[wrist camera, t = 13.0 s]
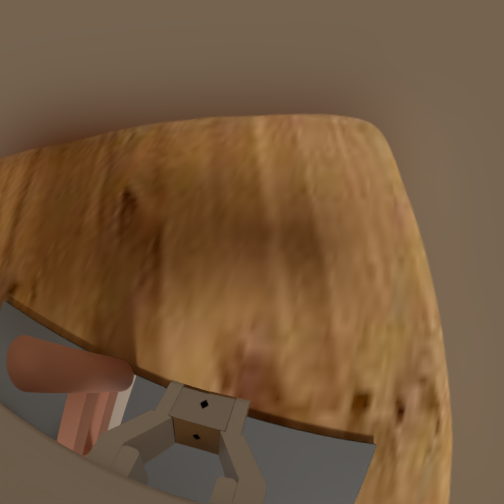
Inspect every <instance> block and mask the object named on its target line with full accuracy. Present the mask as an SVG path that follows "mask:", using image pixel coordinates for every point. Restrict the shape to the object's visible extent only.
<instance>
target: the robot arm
mask: <svg viewBox="0 0 504 504" xmlns="http://www.w3.org/2000/svg"><path fill="white" fill-rule="evenodd" d="M249 406H250V401H249V400H245V399H240V398H237V397H232V396H228V395H224V394H219V393H215V392H209V391H206V390H202V389H199V388H196V387H192V386H189V385H186V384H183V383H179V382H176V381H172V382H171V383H170V384H169V385H168V387H167V389H166V391H165V393H164V395H163V396H162V398H161V400H160V402H159V404H158V405H157V407H156V409H155V411H153V410H149V411H147V412H145V413H143V414H141V415H139V416H137V417H135V418H133V419H131V420H129V421H127V422H125V423H123V424H121V425H119V426H116V427H114V428H112V429H110V430H108V431H105V432H103V433H102V434H101V435H100V437H99V438H98V440H97V441H96V443H95V445H94V446H93V448H92V449H91V451H90V452H89V454H88V455H87V457H84V456H82V455H80V454H79V453H77V452H75V451H73V450H71V449H69V448H68V447H66V446H64V445H62V444H61V443H59V442H57V441H56V440H54V439H52V438H51V437H49V436H47V435H46V434H44V433H43V432H41V431H40V430H38V429H37V428H35V427H33V426H32V425H31V424H29V423H28V422H26V421H25V420H23V419H22V418H20V417H19V416H18V415H16V414H15V413H13V412H12V411H11V410H9V409H8V408H7V407H5V406H4V405H3V404H1V403H0V504H204V503H200V502H197V501H193V500H190V499H187V498H183V497H180V496H177V495H174V494H171V493H168V492H165V491H162V490H159V489H157V488H154V487H151V486H149V485H147V483H148V481H149V479H148V476H147V473H146V471H145V468H144V464H146V463H147V462H149V461H150V460H152V459H153V458H155V457H157V456H158V455H160V454H161V453H163V452H164V451H166V450H167V449H168V448H170V447H171V446H173V445H174V444H175V443H179V444H182V445H186V446H189V447H193V448H197V449H200V450H203V451H207V452H210V453H213V454H217V455H218V456H219V459H220V462H221V466H222V469H223V472H224V475H225V477H222V476H221V477H219V478H217V480H216V483H215V486H214V489H213V492H212V495H211V497H210V500H209V503H208V504H263V500H264V496H265V491H266V486H267V485H266V482H265V480H264V478H263V476H262V474H261V472H260V470H259V468H258V465H257V463H256V461H255V459H254V457H253V454H252V452H251V450H250V448H249V445H248V443H247V441H246V439H245V436H243V433H244V429H245V425H246V420H247V416H248V411H249Z"/></svg>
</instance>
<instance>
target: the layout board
mask: <svg viewBox="0 0 504 504" xmlns="http://www.w3.org/2000/svg"><path fill="white" fill-rule="evenodd" d="M21 335H28V336H31V337H35V338H38V339H41V340H45V341H49V342H52V343H56V344H60V345H63V346H67V347H71V348H75V349H79V350H84V351H87V350H86V349H84V348H82V347H80V346H78V345H76V344H75V343H73V342H71V341H69V340H67V339H66V338H64V337H62V336H60V335H59V334H57V333H55V332H54V331H52V330H50V329H49V328H47V327H45V326H44V325H42V324H40V323H39V322H37V321H36V320H34V319H32V318H31V317H29V316H28V315H26V314H25V313H23V312H22V311H20V310H19V309H17V308H16V307H14V306H13V305H11V304H10V303H8V302H7V301H3V304H2V307H1V310H0V403H1V404H3V405H4V406H5V407H7V408H8V409H9V410H11V411H12V412H13V413H15V414H16V415H18V416H19V417H20V418H22V419H23V420H25V421H26V422H28V423H29V424H31V425H32V426H33V427H35V428H37V429H38V430H40V431H41V432H43V433H44V434H46V435H47V436H49V437H51V438H52V439H54V440H56V441H57V438H58V433H59V428H60V424H61V420H62V415H63V411H64V407H65V403H66V399H67V396H68V393H33V392H23V391H21V390H19V389H18V388H17V387H16V386H15V385H14V384H13V383H12V381H11V379H10V377H9V375H8V371H7V366H6V357H7V351H8V348H9V346H10V344H11V343H12V341H13V340H14V339H15V338H17V337H18V336H21ZM88 352H89V351H88ZM133 375H134V378H133V382H132V385H131V386H130V387H129V388H128V389H127V390H125V391H122V392H118V395H117V398H116V402H115V405H114V409H113V412H112V416H111V419H110V423H109V427H108V430H110V429H112V428H114V427H116V426H119V425H121V424H123V423H125V422H127V421H129V420H131V419H133V418H135V417H137V416H139V415H141V414H143V413H145V412H147V411H149V410H153V411H155V409H156V407H157V405H158V404H159V402H160V400H161V398H162V396H163V395H164V393H165V391H166V389H167V387H164V386H162V385H160V384H157V383H155V382H152V381H150V380H148V379H145V378H143V377H141V376H139V375H136V374H134V373H133ZM108 430H107V431H108ZM243 436H245V439H246V441H247V443H248V445H249V448H250V450H251V452H252V454H253V457H254V459H255V461H256V463H257V465H258V468H259V470H260V472H261V474H262V476H263V478H264V480H265V482H266V485H267V486H266V491H265V496H264V500H263V504H354V502H355V500H356V498H357V495H358V493H359V490H360V488H361V486H362V483H363V481H364V478H365V475H366V473H367V470H368V468H369V465H370V462H371V459H372V457H373V454H374V451H375V448H376V444H372V443H366V442H359V441H353V440H347V439H341V438H336V437H331V436H326V435H321V434H316V433H311V432H307V431H302V430H298V429H294V428H290V427H286V426H282V425H278V424H274V423H270V422H267V421H263V420H260V419H256V418H253V417H249V416H247V420H246V425H245V429H244V433H243ZM144 468H145V471H146V473H147V476H148V479H149V481H148V483H147V485H149V486H151V487H154V488H157V489H159V490H162V491H165V492H168V493H171V494H174V495H177V496H180V497H183V498H187V499H190V500H193V501H197V502H200V503H204V504H208V503H209V500H210V497H211V495H212V492H213V489H214V486H215V483H216V480H217V478H219V477H221V476H222V477H225V475H224V472H223V469H222V466H221V462H220V459H219V456H218V455H217V454H213V453H210V452H207V451H203V450H200V449H197V448H193V447H189V446H186V445H182V444H179V443H175V444H174V445H173V446H171V447H170V448H168V449H167V450H166V451H164V452H163V453H161V454H160V455H158V456H157V457H155V458H153V459H152V460H150V461H149V462H147V463H146V464H144Z"/></svg>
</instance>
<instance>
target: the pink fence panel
mask: <svg viewBox="0 0 504 504" xmlns="http://www.w3.org/2000/svg"><path fill="white" fill-rule="evenodd" d="M6 366H7V371H8V375H9V377H10V379H11V381H12V383H13V384H14V385H15V386H16V387H17V388H18V389H19V390H21V391H23V392H33V393H68V396H67V399H66V403H65V407H64V411H63V415H62V420H61V424H60V428H59V433H58V438H57V442H59V443H61V444H62V445H64V446H66V447H68V448H69V449H71V450H73V451H75V452H77V453H79V454H80V455H82V456H84V457H87V455H88V454H89V452H90V451H91V449H92V448H93V446H94V445H95V443H96V441H97V440H98V438H99V437H100V435H101V434H102V433H103V432H105V431H107V430H108V427H109V423H110V419H111V416H112V412H113V409H114V405H115V402H116V398H117V395H118V392H122V391H125V390H127V389H128V388H129V387H130V386H131V385H132V382H133V378H134V375H133V370H132V368H131V366H130V364H129V363H128V362H127V361H125V360H123V359H121V358H116V357H111V356H106V355H101V354H97V353H92V352H88V351H84V350H79V349H75V348H71V347H67V346H63V345H60V344H56V343H52V342H49V341H45V340H41V339H38V338H35V337H31V336H28V335H21V336H18V337H17V338H15V339H14V340H13V341H12V343H11V344H10V346H9V348H8V351H7V357H6Z"/></svg>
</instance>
